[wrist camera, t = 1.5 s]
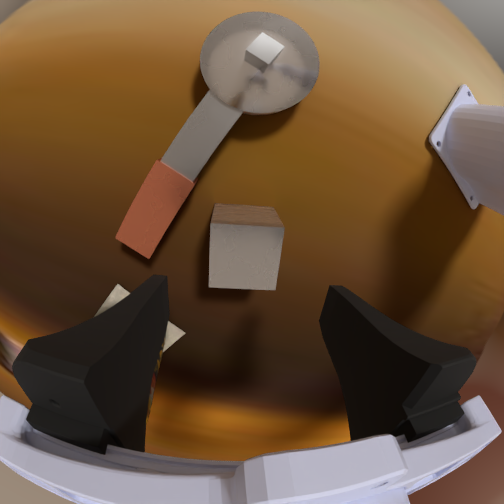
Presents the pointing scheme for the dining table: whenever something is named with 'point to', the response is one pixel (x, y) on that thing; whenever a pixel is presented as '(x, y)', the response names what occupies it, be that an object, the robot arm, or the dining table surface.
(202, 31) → the dining table surface
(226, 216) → the brushed metal cube
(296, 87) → the metal scoop
